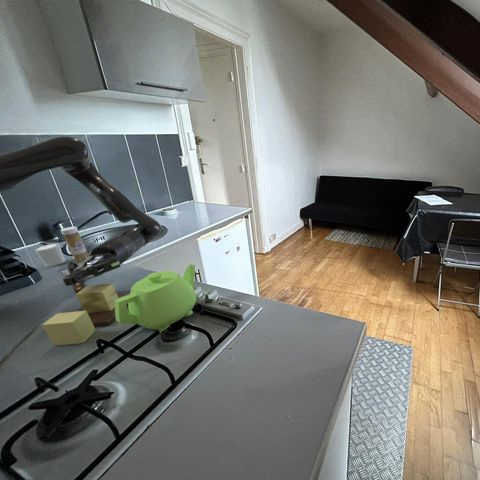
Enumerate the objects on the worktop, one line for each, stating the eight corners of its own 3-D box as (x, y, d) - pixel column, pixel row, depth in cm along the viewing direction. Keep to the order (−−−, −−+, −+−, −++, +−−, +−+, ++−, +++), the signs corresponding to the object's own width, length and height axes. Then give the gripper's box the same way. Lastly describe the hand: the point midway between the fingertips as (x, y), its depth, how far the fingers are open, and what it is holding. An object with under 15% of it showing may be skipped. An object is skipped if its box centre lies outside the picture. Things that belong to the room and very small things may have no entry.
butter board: (63, 330, 64) (50, 305, 61) (100, 298, 76) (91, 277, 73) (110, 325, 65) (98, 301, 62) (139, 295, 77) (131, 274, 74)
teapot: (187, 290, 77) (176, 252, 73) (218, 302, 71) (208, 261, 66) (112, 334, 61) (91, 288, 57) (143, 353, 55) (123, 304, 50)
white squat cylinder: (57, 259, 105) (49, 243, 102) (71, 259, 104) (64, 243, 101) (38, 267, 99) (29, 250, 96) (53, 267, 98) (44, 250, 95)
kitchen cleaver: (107, 281, 84) (65, 294, 77) (108, 284, 84) (67, 297, 78) (95, 261, 100) (59, 270, 93) (96, 263, 100) (60, 272, 93)
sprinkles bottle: (83, 262, 100) (68, 230, 95) (72, 263, 101) (56, 230, 95) (93, 257, 104) (79, 225, 99) (82, 257, 105) (68, 226, 100)
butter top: (57, 313, 60) (68, 333, 63) (41, 324, 57) (53, 346, 59) (86, 310, 61) (96, 330, 63) (72, 322, 57) (83, 343, 59)
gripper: (87, 241, 75) (30, 270, 59) (134, 237, 76) (90, 265, 60) (97, 264, 78) (45, 298, 62) (142, 260, 79) (103, 293, 63)
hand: (67, 282), depth 61 cm, fingers closed
